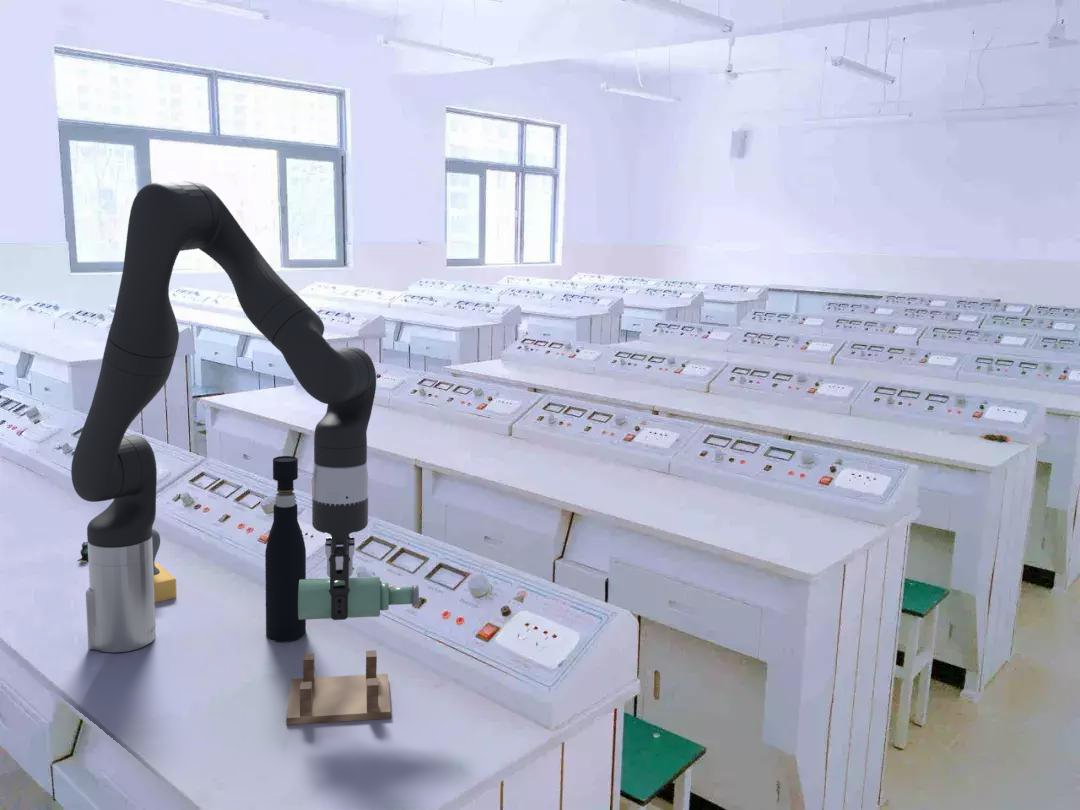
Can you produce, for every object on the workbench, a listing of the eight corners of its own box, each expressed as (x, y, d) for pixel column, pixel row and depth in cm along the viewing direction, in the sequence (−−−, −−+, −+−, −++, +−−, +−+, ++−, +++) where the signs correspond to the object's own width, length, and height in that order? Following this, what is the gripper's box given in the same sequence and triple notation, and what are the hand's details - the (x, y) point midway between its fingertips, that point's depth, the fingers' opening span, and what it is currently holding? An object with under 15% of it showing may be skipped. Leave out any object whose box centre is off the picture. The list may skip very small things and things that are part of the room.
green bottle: (298, 625, 122) (298, 587, 121) (300, 610, 127) (300, 573, 126) (419, 621, 125) (419, 583, 125) (416, 606, 131) (417, 570, 130)
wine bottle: (294, 644, 145) (294, 465, 139) (258, 639, 146) (256, 461, 141) (312, 628, 151) (312, 456, 146) (277, 623, 152) (276, 452, 147)
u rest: (286, 724, 122) (286, 690, 121) (291, 684, 132) (291, 653, 131) (390, 718, 125) (391, 685, 124) (387, 679, 135) (388, 649, 134)
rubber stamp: (177, 597, 161) (175, 534, 159) (143, 605, 157) (141, 540, 155) (158, 580, 168) (156, 519, 166) (125, 586, 164) (123, 524, 162)
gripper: (369, 509, 116) (367, 630, 120) (367, 479, 130) (366, 589, 133) (309, 510, 115) (309, 633, 118) (314, 480, 129) (314, 590, 132)
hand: (339, 609), depth 126 cm, fingers closed on green bottle, 5 cm apart
